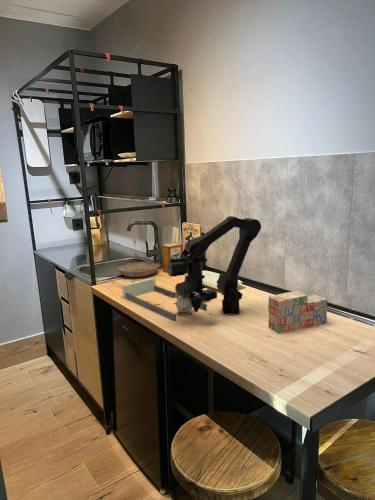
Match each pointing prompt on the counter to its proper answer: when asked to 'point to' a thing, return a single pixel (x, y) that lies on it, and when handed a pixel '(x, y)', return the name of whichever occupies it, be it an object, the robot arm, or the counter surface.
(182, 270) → the robot arm
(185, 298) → the game die
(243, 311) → the counter surface
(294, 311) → the stack of blocks
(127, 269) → the ceramic bowl
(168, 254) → the baking soda box
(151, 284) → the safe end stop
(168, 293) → the lane rails
